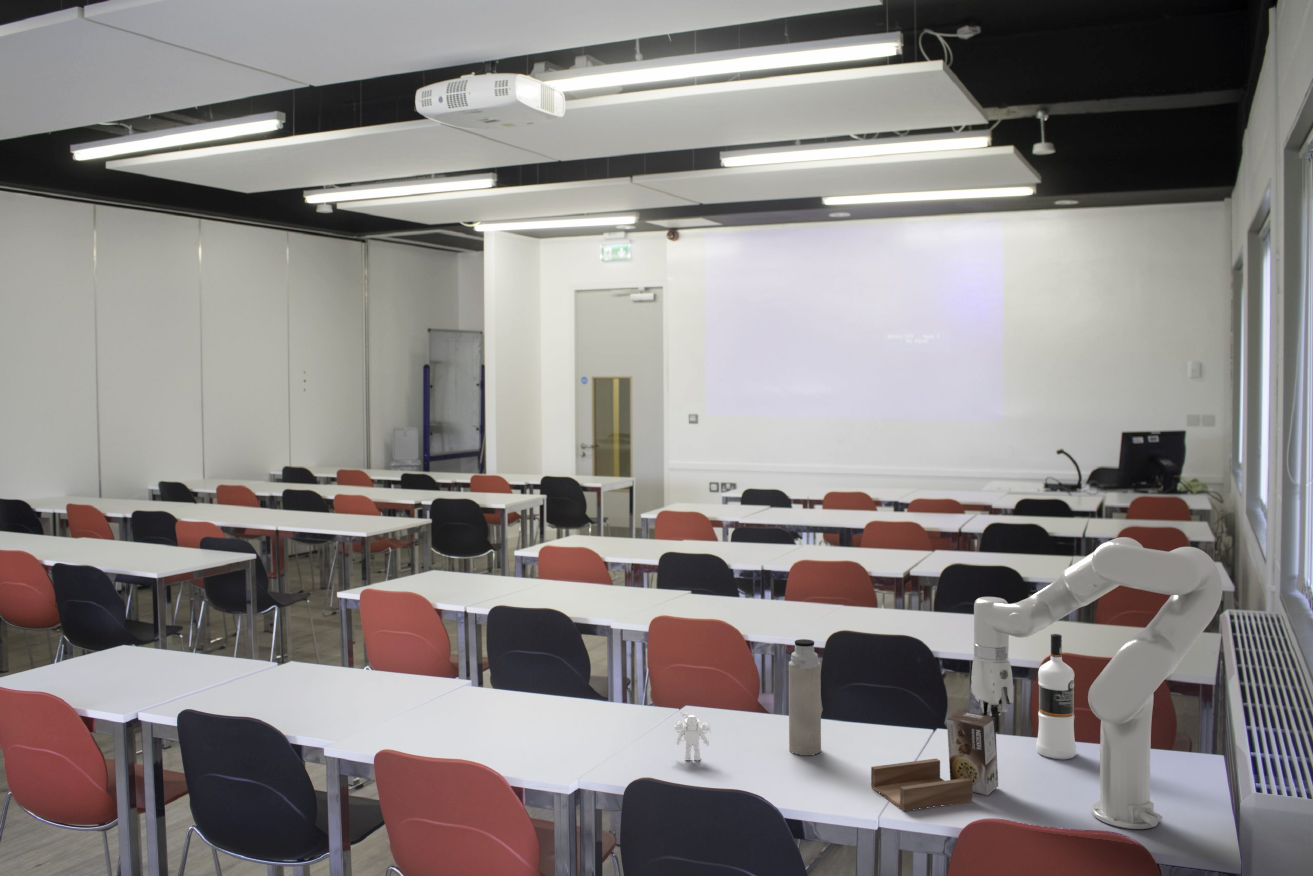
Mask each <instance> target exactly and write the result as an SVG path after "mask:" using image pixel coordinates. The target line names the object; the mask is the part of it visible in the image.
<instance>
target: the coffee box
mask: <svg viewBox="0 0 1313 876" xmlns="http://www.w3.org/2000/svg"><path fill="white" fill-rule="evenodd" d="M946 726H947V727H946V729H947V731H946V732H947V745H948V747H947V748H948V760H949V762H948V763H949V766H948V767H949V780H955V779H962V778H970V779H971V780H972V793H976V794H981V795H984V796H989V794H991V793H992V792H994V790H996V789H997V788H999V773H998V751H997V749H998V748H997V732H996V726H995V717H991V716H986V715H982V714H980V713H975V712H970V711H963V710H957V711H955V712H954V713H953V714H952V715H951V716H949V717H948V718H946Z"/></svg>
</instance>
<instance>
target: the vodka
mask: <svg viewBox="0 0 1313 876" xmlns="http://www.w3.org/2000/svg"><path fill="white" fill-rule="evenodd" d="M1062 637H1063V636H1062V635H1061V633H1060V634H1059V633H1052V634H1050V660H1048V661H1046V662H1045V663H1043V664H1041V665H1040V666H1039V668H1038V672H1037V674H1038V675H1037V676H1038V677H1037V678H1038V680H1037V681H1038V682H1037V683H1038V713H1037V715H1038V731H1037V739H1036V744H1035V745H1036V746H1035V748H1036V751H1037V753H1038V754H1040V755H1041V756H1043V757H1046V758H1049V759H1052V760H1053V759H1054V760H1061V761H1062V760H1070V759H1073V758H1075V756H1076V755H1077V744H1076V740H1075V729H1074V727H1075V725H1074V723H1075V722H1074V721H1075V718H1076V717H1075V713H1074V712H1075V710H1074V709H1075V708H1074V707H1075V704H1074V701H1075V699H1074V697H1075V690H1074V687H1075V680H1074V679H1075V671H1074V670H1073V668H1072V667H1071V666H1070V665H1068V664H1067V663H1066V662H1064V661H1063V657H1062V653H1063V651H1062V649H1063V644H1062V642H1063V641H1062V640H1063V639H1062Z"/></svg>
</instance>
